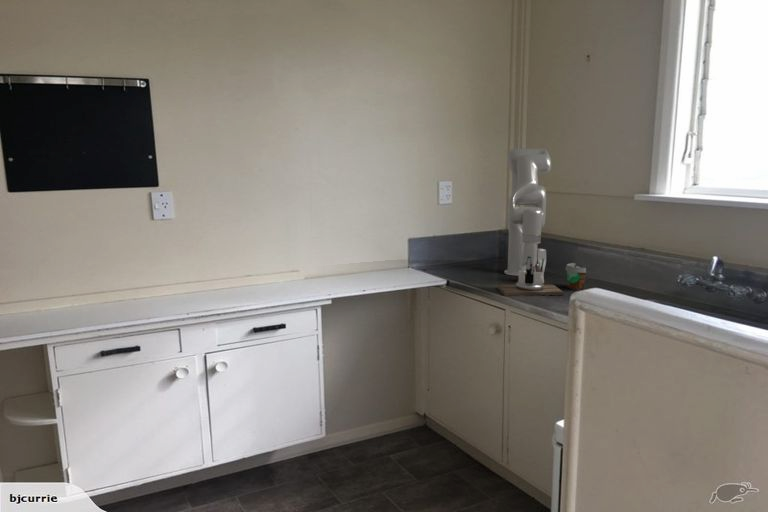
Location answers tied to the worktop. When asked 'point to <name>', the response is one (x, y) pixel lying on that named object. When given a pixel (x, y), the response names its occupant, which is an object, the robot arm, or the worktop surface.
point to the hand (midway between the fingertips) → (529, 282)
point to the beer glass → (540, 262)
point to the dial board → (514, 291)
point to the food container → (575, 276)
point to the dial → (535, 286)
